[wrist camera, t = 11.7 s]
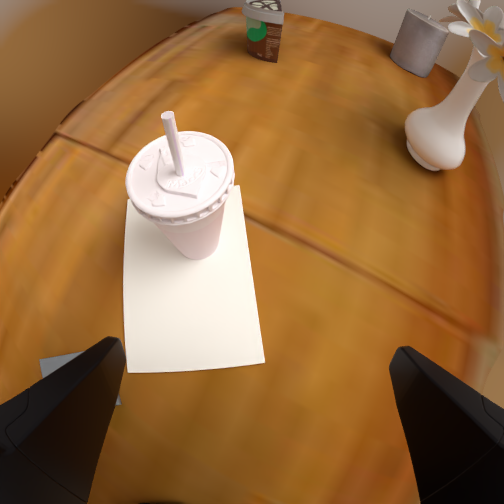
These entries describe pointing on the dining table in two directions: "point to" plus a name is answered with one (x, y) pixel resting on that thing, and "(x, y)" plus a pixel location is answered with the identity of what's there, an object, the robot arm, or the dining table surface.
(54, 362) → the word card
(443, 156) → the flower vase
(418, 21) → the pillar candle
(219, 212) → the smoothie
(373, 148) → the dining table surface
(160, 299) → the paper
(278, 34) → the food container
